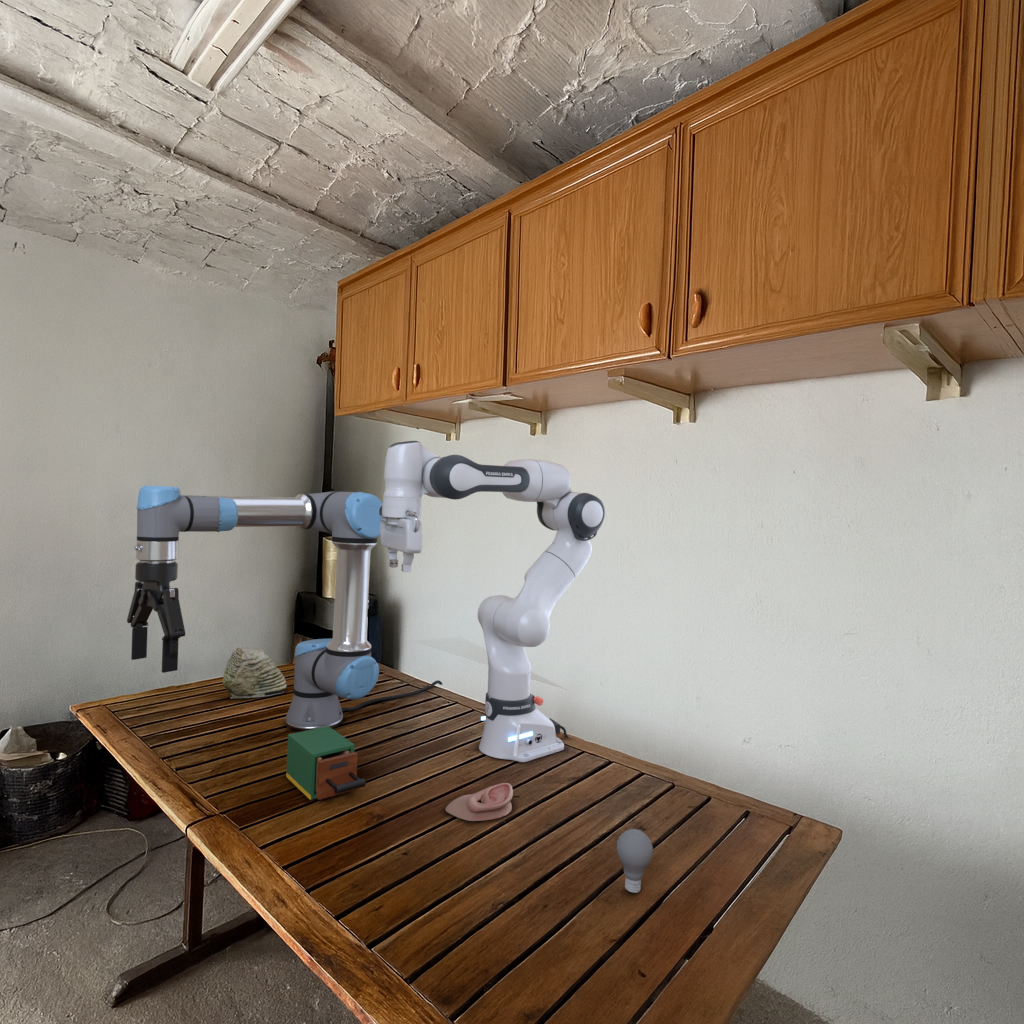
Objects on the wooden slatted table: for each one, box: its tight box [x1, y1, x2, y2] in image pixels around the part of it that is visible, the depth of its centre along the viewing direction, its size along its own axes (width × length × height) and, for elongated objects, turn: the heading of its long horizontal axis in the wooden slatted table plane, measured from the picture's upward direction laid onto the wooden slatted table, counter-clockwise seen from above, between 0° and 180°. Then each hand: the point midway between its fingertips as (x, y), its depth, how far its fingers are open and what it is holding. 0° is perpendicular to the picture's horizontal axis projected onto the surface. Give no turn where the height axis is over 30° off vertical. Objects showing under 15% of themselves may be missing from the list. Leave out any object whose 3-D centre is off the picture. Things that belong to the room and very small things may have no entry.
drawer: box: [314, 750, 366, 801], centre depth 135 cm, size 18×8×8 cm, turn 40°
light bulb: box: [615, 828, 654, 894], centre depth 106 cm, size 6×6×10 cm
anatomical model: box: [444, 782, 514, 822], centre depth 131 cm, size 13×4×12 cm
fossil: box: [222, 646, 288, 699], centre depth 198 cm, size 9×18×15 cm, turn 132°
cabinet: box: [285, 726, 356, 801], centre depth 140 cm, size 14×10×10 cm
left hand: (153, 664), depth 130 cm, fingers open, 13 cm apart
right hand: (399, 569), depth 147 cm, fingers open, 8 cm apart
